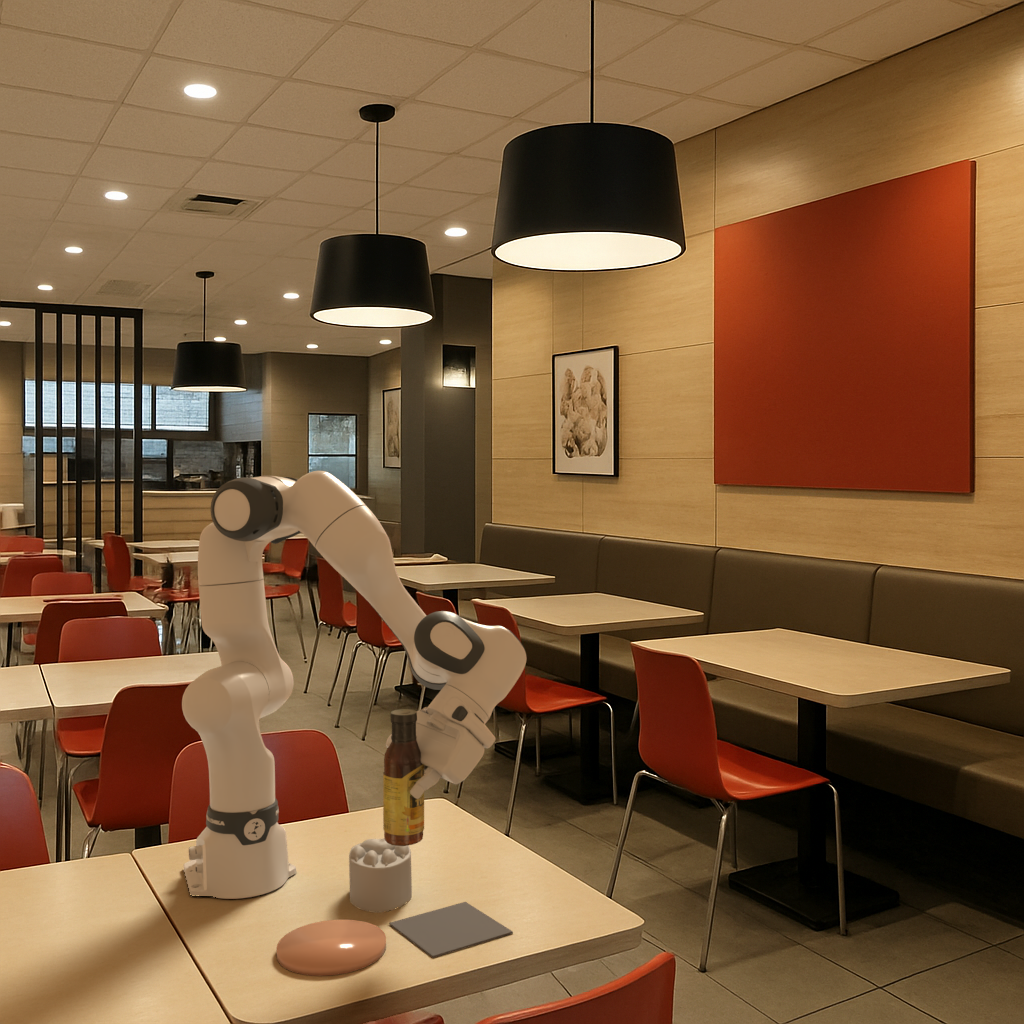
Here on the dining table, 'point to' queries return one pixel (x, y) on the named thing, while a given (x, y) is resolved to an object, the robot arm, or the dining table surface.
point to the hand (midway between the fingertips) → (399, 789)
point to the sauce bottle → (402, 782)
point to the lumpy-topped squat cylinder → (379, 875)
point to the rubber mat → (450, 929)
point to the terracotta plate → (331, 947)
